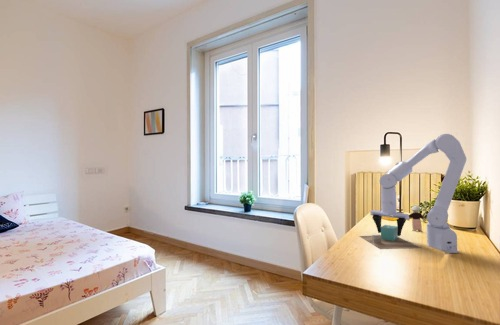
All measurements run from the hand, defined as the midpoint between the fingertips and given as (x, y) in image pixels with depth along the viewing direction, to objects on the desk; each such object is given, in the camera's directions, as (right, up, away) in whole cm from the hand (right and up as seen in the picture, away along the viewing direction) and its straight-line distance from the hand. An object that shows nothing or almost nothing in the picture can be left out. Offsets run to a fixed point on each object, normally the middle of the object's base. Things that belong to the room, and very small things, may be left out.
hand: (389, 233), depth 112 cm
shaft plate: (-3, -3, -4) cm, 6 cm away
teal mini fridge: (0, -2, 0) cm, 2 cm away
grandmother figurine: (+21, -3, +15) cm, 26 cm away
